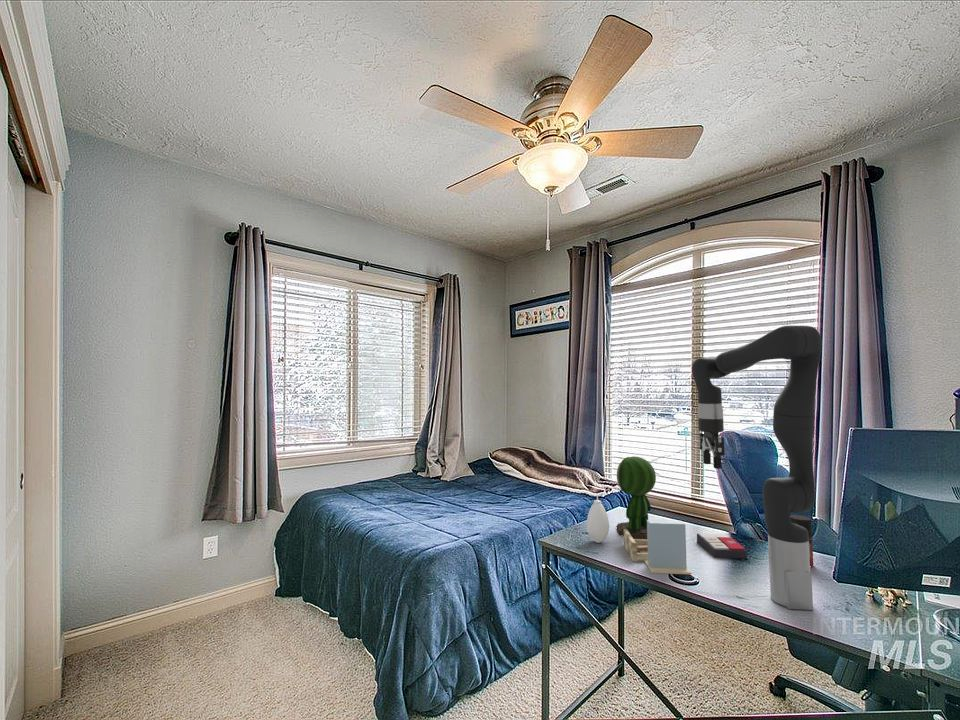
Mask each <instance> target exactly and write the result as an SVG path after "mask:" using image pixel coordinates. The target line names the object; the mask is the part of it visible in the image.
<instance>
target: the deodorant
mask: <svg viewBox="0 0 960 720" xmlns="http://www.w3.org/2000/svg"><path fill="white" fill-rule="evenodd" d="M790 519H791V522H792V523H794V524H797V525H800V526H802V527H804V528H806V529H807V531H808V535H809V559H810V566H813V567H814V549H813V548H814V545H813V529H812V528H813V525H812V523H813V522H812V518H811V517H809V516H806V515H805V516H804V515H798V514H790Z"/></svg>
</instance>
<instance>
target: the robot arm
mask: <svg viewBox="0 0 960 720" xmlns="http://www.w3.org/2000/svg"><path fill="white" fill-rule="evenodd" d="M822 341H823V340H822V336H821V334H820V332H819V330H818V329H817V328H815V327H813V326H812V325H794V324H793V325H791V324H790V325H782V326H780V327H777V328H775V329H773V330H771V331H769V332H767V333H766V334H764V335H763V336H761V337H758V338H757V339H755V340H753V341H751V342H749V343H747V344H744V345H741V346H738V347H735V348H734V347H733V348H732V349H729V350H726V351H723V352H721V353H719V354H718V355H717V356H716V357H698V358H696V359H695V360H694V361H693V363H692V365H691V374H692V377H693V381H694V382H695V387H696V389H697V395H698V396H697V397H698V398H697V399H698V405H697V424H698V425H697V427H698V431H699V432H700V433H699V449H700V451H701V452H702V456H703V457H702V459H703V460H702V461H703V464H705V465H710V464H711V463H712V461H713V464H712V465H713V469H716V470H717V469H722V468H723V467H722V457H724V456H725V453H726V451H725V450H726V449H725V438H724V436H720V435H719V433H723V432H724V431H725V430H724V428H725V427H724V424H725V423H724V410H723V409H724V408H723V398H722V396H723V395H722V394H723V393H722V388H721V387H719V386H717V385H714V384H712V379H721V378H725V377H727V376H729V375H731V374H732V373H735V372H736V373H737V372H741V371H743V370H745V369H746V370H747V369H748V368H751V367H753V366H754V365H756V364H757V363H759V362H762V361H769V360H780V359H781V360H790V365H789V373H788V374H789V375H788V378H787V380H786V383H785V385H784V386H783V388H782V390H781V391H780V393H779V394H778V396H777V398H776V400H775V402H774V404H773V410H772V411H773V415H772V417H773V418H772V428H773V433H774V434H775V435H774V436H775V437H776V439H777V440H778V442H779V444H780V445H781V447H782V449H783V450H784V452H785V454H786V456H787V459H788V465H789V467H788V468H789V474H788V477H770V478H767V479H766V480H765V481H764V482H763V485H762V502H763V503H762V505H763V511H764V512H763V514H764V522H765V525H766V528H767V537H768V538H767V541H768V544H767V545H768V566H769V570H768V571H769V587H770V598H771V600H772V601H773V602H775V603H776V604H778V605H779V606H783V607H785V608H787V609H788V610H801V611H802V610H803V611H813V610H814V600H813V596H814V595H813V575H812V573H811V567H810V559H809V535H808V531H807V529H806V528H804V527H802V526H800V525H797V524H794V523H792V522H791V519H790V515H791V514H790V513H807V512H809V511H811V510H812V509H813V508H814V504H815V500H816V489H815V486H816V485H815V477H814V475H815V474H814V460H813V459H814V433H815V419H816V418H815V413H816V412H815V409H816V408H815V407H816V406H815V404H816V392H817V391H816V389H817V378H818V372H819V366H820V360H821V356H822V355H821V354H822V347H823V345H822V344H823V343H822ZM711 453H712V455H711ZM711 457H713V458H711Z"/></svg>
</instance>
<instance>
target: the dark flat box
mask: <svg viewBox="0 0 960 720" xmlns="http://www.w3.org/2000/svg"><path fill="white" fill-rule="evenodd" d="M696 544H698V545H699V546H700V547H702V548H703V549H704V550H705V551H706V553H707V552H708V554H709V555H711V556H712V557H713V558H715V559H716V558H718V559H748V551H747V549H746V548H745V547H743V545H741V544H740V543H738V541H737V540H736V539H734V538H733V537H730V535H728V533H719V532H718V533H715V532H714V533H711V532H709V533H708V532H699V533H696Z"/></svg>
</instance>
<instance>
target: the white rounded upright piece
mask: <svg viewBox="0 0 960 720" xmlns="http://www.w3.org/2000/svg"><path fill="white" fill-rule="evenodd" d="M586 529H587V533H588V536H589V537H590V538H591V540H593V542H595V543H596V544H597V543H598V544H600V543H602V542H604V541H605V540H606V539H607V537H608V535H609V531H610V521H609V516H608V513H607V510H606V508H605V506H604V505H603V504H602V501H601V500H599V495H598V493H596V500H595V499H594V500H593V504H592V505H591V507H590V509H589V511H588V515H587V518H586Z"/></svg>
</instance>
